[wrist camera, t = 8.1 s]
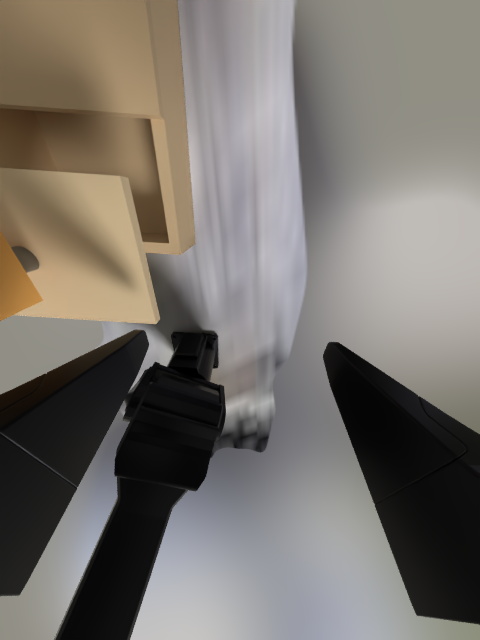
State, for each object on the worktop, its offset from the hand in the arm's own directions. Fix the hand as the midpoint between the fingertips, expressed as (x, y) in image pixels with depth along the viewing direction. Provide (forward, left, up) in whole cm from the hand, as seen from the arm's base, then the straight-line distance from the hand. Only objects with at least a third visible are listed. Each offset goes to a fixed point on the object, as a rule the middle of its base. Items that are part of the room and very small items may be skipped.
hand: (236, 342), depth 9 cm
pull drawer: (+3, +11, -3) cm, 12 cm away
